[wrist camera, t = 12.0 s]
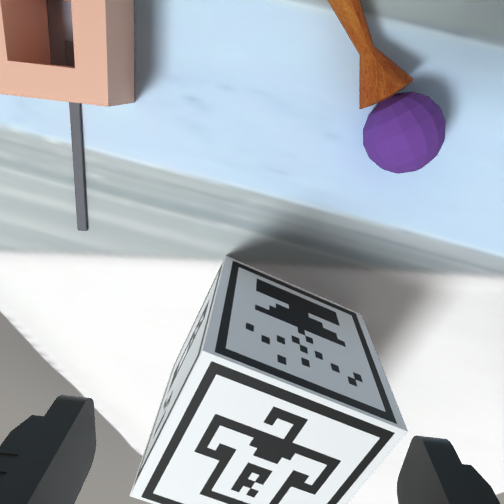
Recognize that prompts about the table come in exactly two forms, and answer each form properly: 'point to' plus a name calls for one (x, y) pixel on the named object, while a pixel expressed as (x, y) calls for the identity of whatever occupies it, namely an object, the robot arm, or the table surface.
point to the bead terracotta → (85, 52)
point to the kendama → (390, 103)
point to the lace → (77, 150)
